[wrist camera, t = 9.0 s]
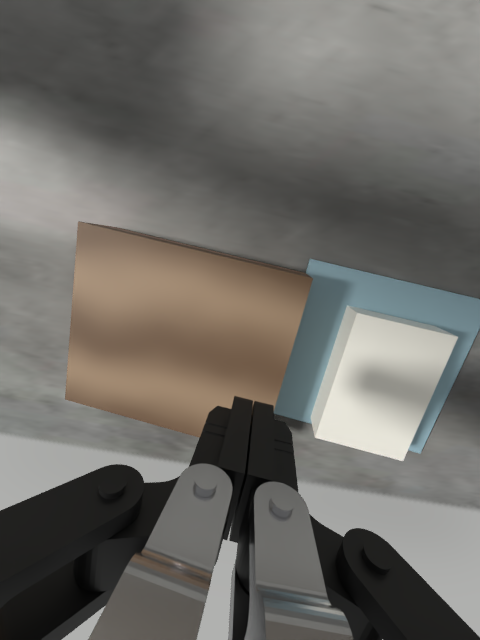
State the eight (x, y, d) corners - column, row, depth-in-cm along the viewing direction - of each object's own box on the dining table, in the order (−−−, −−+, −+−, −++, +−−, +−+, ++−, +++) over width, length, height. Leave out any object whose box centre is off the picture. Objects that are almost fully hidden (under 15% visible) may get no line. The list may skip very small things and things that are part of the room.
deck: (115, 227, 20) (78, 221, 16) (305, 272, 20) (313, 278, 16) (99, 375, 23) (65, 399, 20) (263, 420, 23) (260, 454, 19)
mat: (309, 258, 19) (310, 258, 19) (488, 301, 19) (492, 302, 18) (266, 409, 22) (266, 411, 22) (418, 450, 22) (420, 453, 21)
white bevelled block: (458, 336, 17) (435, 326, 19) (357, 313, 17) (346, 305, 19) (402, 461, 19) (388, 437, 21) (314, 437, 19) (310, 416, 22)
